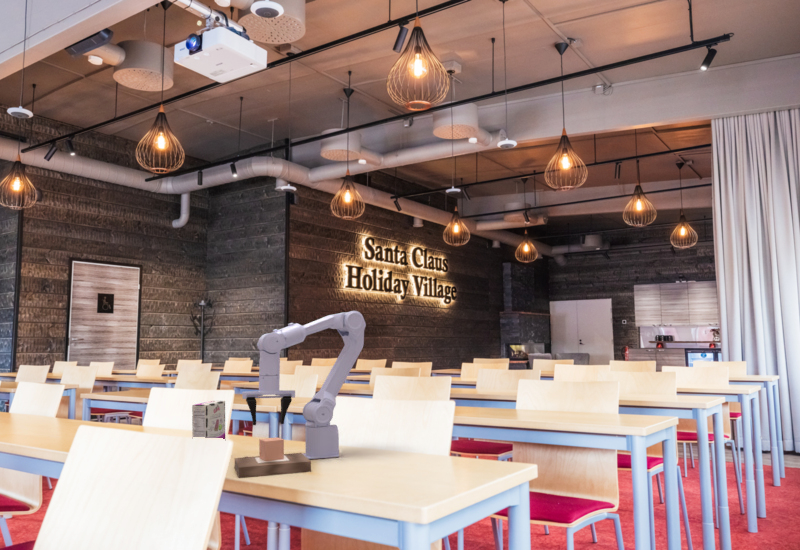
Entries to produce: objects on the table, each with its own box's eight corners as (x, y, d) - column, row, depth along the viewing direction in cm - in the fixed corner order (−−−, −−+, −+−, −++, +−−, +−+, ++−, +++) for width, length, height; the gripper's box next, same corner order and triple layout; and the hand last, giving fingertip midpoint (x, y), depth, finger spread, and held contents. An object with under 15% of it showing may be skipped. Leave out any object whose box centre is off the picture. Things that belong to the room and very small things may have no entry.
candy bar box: (210, 456, 186) (211, 400, 188) (225, 456, 185) (226, 400, 187) (190, 463, 175) (191, 404, 177) (207, 463, 174) (207, 404, 176)
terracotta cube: (277, 456, 167) (277, 437, 168) (283, 459, 163) (283, 439, 164) (259, 458, 165) (259, 439, 165) (265, 461, 161) (265, 441, 161)
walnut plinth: (301, 462, 173) (301, 452, 173) (310, 471, 160) (310, 460, 160) (234, 467, 167) (234, 457, 167) (238, 477, 154) (239, 466, 154)
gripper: (292, 374, 183) (291, 421, 181) (241, 375, 178) (240, 423, 176) (296, 375, 176) (295, 424, 174) (244, 376, 171) (242, 426, 170)
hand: (268, 424), depth 175 cm, fingers open, 7 cm apart
